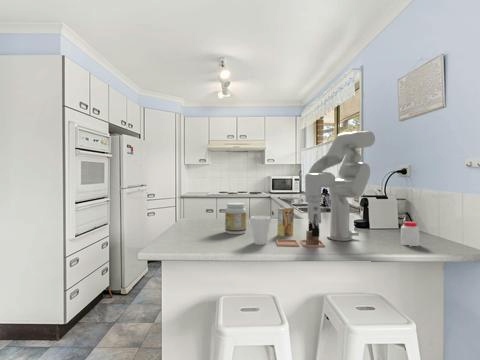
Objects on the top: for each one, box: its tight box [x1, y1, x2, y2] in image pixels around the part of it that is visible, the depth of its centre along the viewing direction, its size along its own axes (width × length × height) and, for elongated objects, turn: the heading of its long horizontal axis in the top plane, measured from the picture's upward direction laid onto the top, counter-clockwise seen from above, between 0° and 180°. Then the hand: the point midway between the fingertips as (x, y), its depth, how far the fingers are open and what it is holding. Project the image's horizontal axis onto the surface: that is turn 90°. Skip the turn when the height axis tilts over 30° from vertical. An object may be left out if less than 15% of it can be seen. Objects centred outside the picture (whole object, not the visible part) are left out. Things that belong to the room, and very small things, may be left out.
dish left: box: [299, 239, 326, 248], centre depth 141 cm, size 10×10×1 cm
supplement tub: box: [224, 201, 247, 235], centre depth 168 cm, size 12×12×17 cm
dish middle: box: [275, 238, 300, 248], centre depth 142 cm, size 10×10×1 cm
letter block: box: [305, 230, 320, 245], centre depth 141 cm, size 5×5×6 cm
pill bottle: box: [400, 220, 420, 247], centre depth 143 cm, size 8×8×11 cm
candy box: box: [276, 206, 295, 237], centre depth 162 cm, size 9×4×15 cm, turn 129°
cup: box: [249, 215, 272, 246], centre depth 143 cm, size 10×10×13 cm
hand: (313, 234), depth 142 cm, fingers open, 9 cm apart
